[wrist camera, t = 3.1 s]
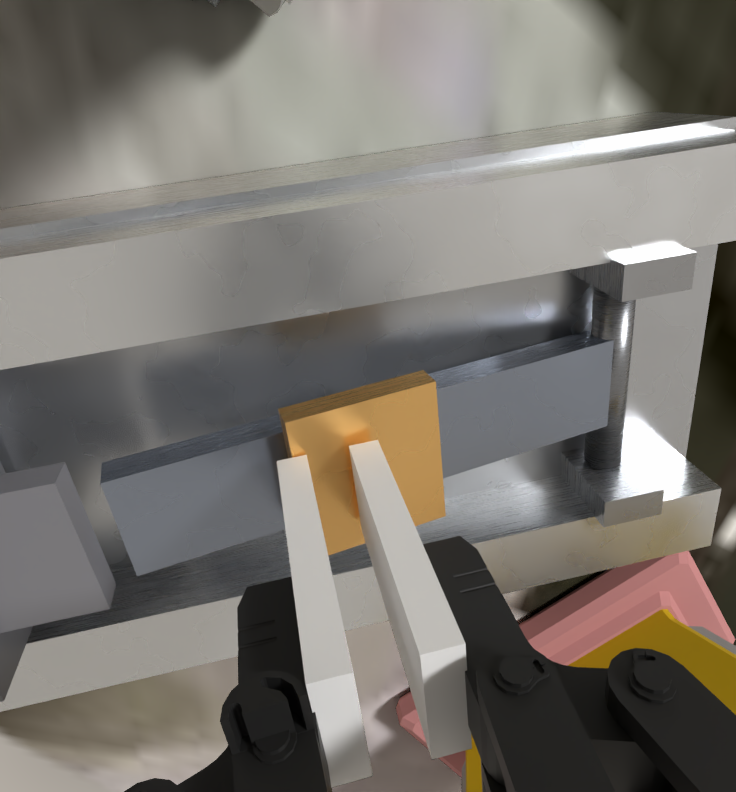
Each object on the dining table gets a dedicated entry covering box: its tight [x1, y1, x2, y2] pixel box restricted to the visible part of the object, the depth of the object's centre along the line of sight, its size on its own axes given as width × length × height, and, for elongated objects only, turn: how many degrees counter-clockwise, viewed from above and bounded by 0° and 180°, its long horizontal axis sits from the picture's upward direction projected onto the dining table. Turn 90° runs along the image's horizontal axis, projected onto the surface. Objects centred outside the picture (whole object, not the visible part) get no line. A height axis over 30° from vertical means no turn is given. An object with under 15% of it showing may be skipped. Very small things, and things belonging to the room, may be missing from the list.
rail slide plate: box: [0, 112, 736, 712], centre depth 20 cm, size 14×26×7 cm, turn 97°
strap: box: [100, 287, 636, 576], centre depth 17 cm, size 6×16×2 cm, turn 97°
